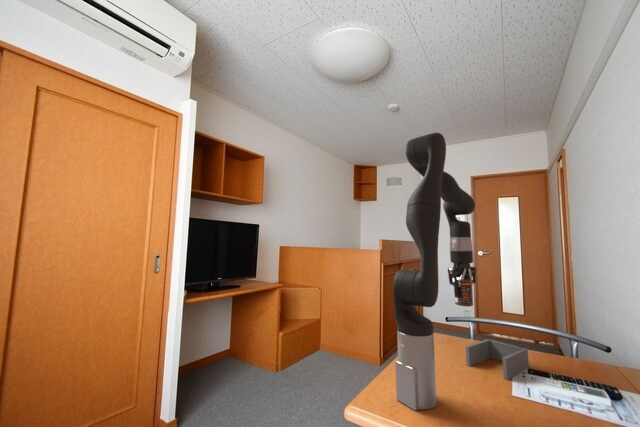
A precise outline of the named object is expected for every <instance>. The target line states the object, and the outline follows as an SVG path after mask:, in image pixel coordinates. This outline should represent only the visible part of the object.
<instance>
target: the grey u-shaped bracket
mask: <svg viewBox="0 0 640 427" xmlns="http://www.w3.org/2000/svg"><path fill="white" fill-rule="evenodd" d="M528 350H529V349H528V348H524V347H520V346H516V345H513V344H509V343H504V342H501V341H497V340H494V339H490V338H487V339H486V338H485V339H484V340H482V341H478V342H475V343H473V344H469V345H466V346H465V362H466V366H467V367H472V366H474V365H476V364H478V363H482V362H484V361H486V360H489V359H494V360H497V361H500V362H502V373H503V375H502V377H503V380H507V381H509V380H510V379H513V378H514V377H516V376H518V375H519V374H522V373H523V372H522V371H524V370H525V371H527V370H529V369H530V365H529V364H530V363H529V353H528V352H529V351H528ZM526 369H527V370H526ZM525 371H524V372H525ZM521 372H522V373H521Z"/></svg>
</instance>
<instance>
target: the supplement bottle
mask: <svg viewBox="0 0 640 427" xmlns="http://www.w3.org/2000/svg"><path fill="white" fill-rule="evenodd" d="M457 278H460V277H457ZM457 281H459V280H457ZM461 295H462V297H460V298H459V297H455V296H454V303H455V305H457V306H461V307H473V305H474V292H473V285H472V281H471V280H470V279H469V274H465V275H464V280H463V281H462V282H461Z"/></svg>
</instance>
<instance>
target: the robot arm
mask: <svg viewBox="0 0 640 427" xmlns="http://www.w3.org/2000/svg"><path fill="white" fill-rule="evenodd" d="M404 148H405V149H404V150H405V151H404V152H405V156H406V159H407V162H408V163H409V164H410V166H411V167H413V169H414V170H415V171H417V173H419V174H420V175H421V176H422V177H423V178H422V179H421V180H420V182H419V184H418V185H417V187H415V189H414V190H413V192H412V193H411V195H410V197H409V199H408V201H407V205H406V214H405V215H406V216H405V225H406V227H407V230H408V232H409V234H410V237H411V238H412V240H413V241H414V244H415V245H416V247H417V249H418V252H419V256H420V270H418V269H417V270H416V269H398V270H397V271H396V273H395V275H394V277H393V280H392V297H393V308H394V309H393V310H394V320H395V324H396V330H397V331H396V332H397V339H396V340H397V360H396V361H395V387H396V389H395V391H396V393H395V396H396V400H397V401H398V402H400V403H402V404H404V405H405V406H406V407H409V408H410V409H412V410H413V411H417V410H431V409H433V408H436V406H437V388H436V387H437V384H436V362H435V361H436V359H435V340H434V339H435V337H434V334H435V333H434V324H433V322H432V320H431V319H430V318H428V317H426V316H424V315H423V314H421V313H420V312H419V311H418V310H417V309H416V308H415V306H416V307H417V306H418V307H424V308H432V307H434V306H435V305H436V303H437V302H438V297H439V252H438V251H439V236H440V225H441V224H440V223H441V210H442V209H441V207H443V211H444V213H445V217H446V219H447V222H448V227H449V255H450V258H449V260H450V262H451V263H452V264H453V266H452V267H448V268H447V275H448V281H449V282H448V283H449V285H450V286H451V285H452V286H453V288H454V290H453V291H454V298H455V297H459V298H460V297H462V295H461V282H462V281H463V280H464V275H465V274H469V279H470V280H471V281H472V286H473V285H474V284H476V282H477V280H476V278H477V277H476V276H477V273H476V272H477V268H476V266H471V264H473V263H474V254H473V253H474V251H473V250H474V249H473V241H472V232H471V223H470V222H468V221H463V220H459V219H458V218H457V216H463V215H465V216H466V215H471V214H472V213H473V212H474V211H475V208H476V203H475V200H474V198H473V197H472V196H471V195H470V194H469V193H468V192H466V191H465V190H463V188H461V187H460V185H459V184H458V182H457V180H456V178H455V177H453V176H452V175H451V174H450V173H448V172H447V171H444V169H445V164H446V156H447V143H446V140H445V137H444V135H443V134H442V133H440V132H431V133H428V134H426V135H425V134H424V135H421V136H418V137H414V138H411V139H410V140H408V141H407V143H406V144H405V147H404ZM442 201H443V203H442ZM442 204H443V205H442ZM441 205H442V206H441ZM457 277H460V278H457ZM457 280H459V281H457Z"/></svg>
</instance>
